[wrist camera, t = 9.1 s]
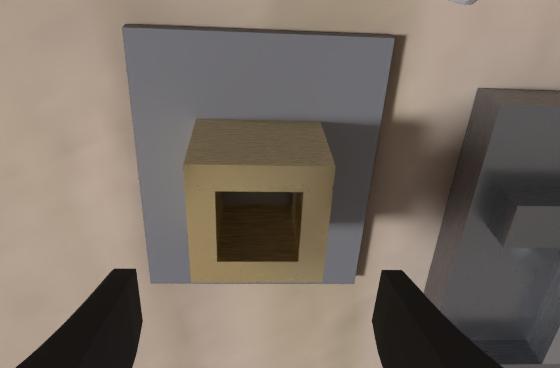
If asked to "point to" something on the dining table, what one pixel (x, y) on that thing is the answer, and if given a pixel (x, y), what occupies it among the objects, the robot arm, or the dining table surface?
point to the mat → (253, 106)
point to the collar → (252, 217)
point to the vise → (505, 231)
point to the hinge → (464, 1)
